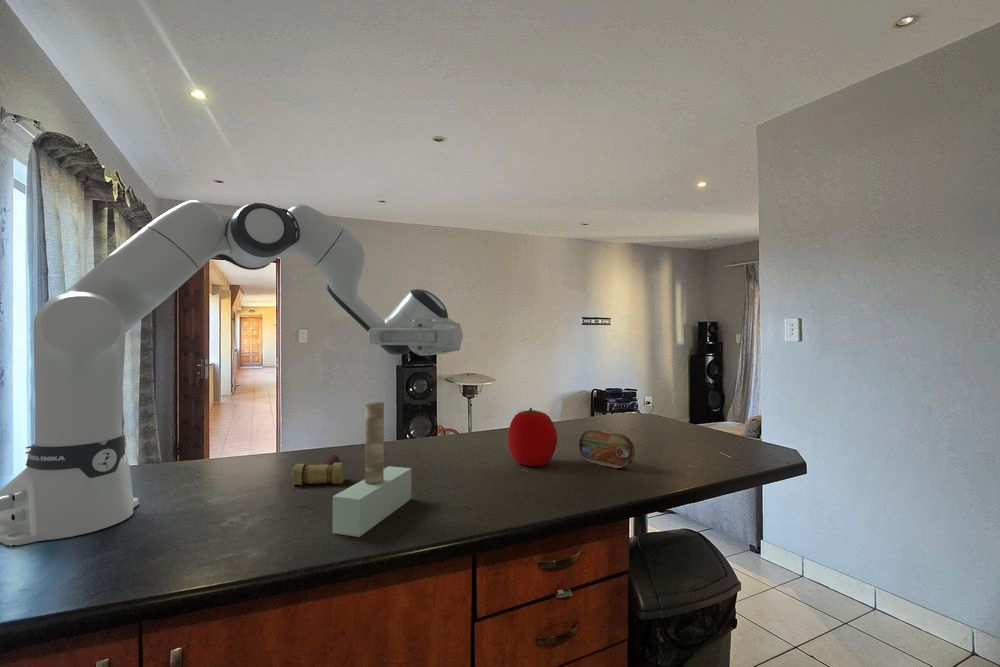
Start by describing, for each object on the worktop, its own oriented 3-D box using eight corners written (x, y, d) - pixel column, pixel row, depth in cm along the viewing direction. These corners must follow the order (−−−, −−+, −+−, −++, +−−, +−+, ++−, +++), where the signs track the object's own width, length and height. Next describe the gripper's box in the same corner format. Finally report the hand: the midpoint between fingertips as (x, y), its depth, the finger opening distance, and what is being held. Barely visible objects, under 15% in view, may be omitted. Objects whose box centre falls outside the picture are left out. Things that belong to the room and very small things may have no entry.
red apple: (498, 466, 115) (498, 408, 115) (519, 455, 125) (519, 402, 125) (545, 473, 109) (546, 413, 109) (563, 462, 119) (563, 406, 119)
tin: (578, 460, 121) (578, 427, 121) (585, 458, 123) (585, 426, 123) (629, 473, 110) (629, 437, 110) (636, 470, 112) (636, 435, 112)
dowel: (361, 483, 82) (361, 404, 82) (371, 478, 85) (371, 401, 85) (377, 485, 81) (377, 405, 82) (386, 479, 85) (387, 402, 85)
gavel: (316, 448, 119) (356, 447, 121) (315, 467, 119) (356, 465, 120) (292, 466, 99) (341, 464, 100) (291, 488, 98) (340, 486, 100)
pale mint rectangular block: (332, 533, 76) (332, 496, 76) (388, 496, 93) (388, 466, 93) (359, 537, 74) (359, 499, 74) (411, 498, 92) (411, 468, 92)
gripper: (386, 322, 111) (352, 321, 98) (466, 322, 106) (442, 321, 92) (386, 349, 111) (352, 351, 98) (466, 350, 106) (442, 353, 92)
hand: (396, 336), depth 95 cm, fingers open, 8 cm apart
